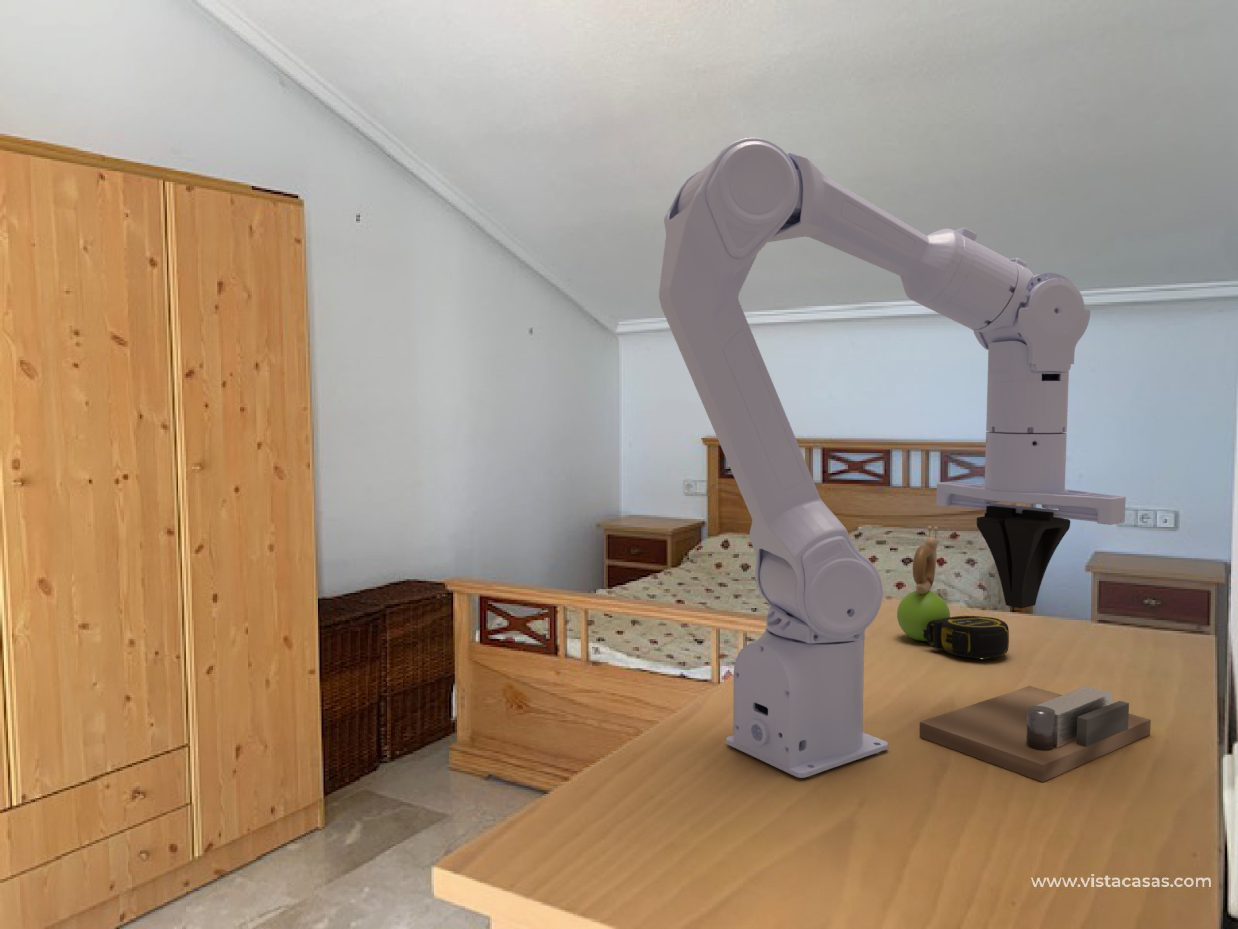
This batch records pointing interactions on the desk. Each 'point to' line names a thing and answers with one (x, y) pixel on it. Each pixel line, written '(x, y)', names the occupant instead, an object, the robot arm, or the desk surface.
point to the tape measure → (969, 636)
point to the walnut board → (1003, 729)
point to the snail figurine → (922, 593)
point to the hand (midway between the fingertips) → (1020, 605)
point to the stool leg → (1062, 717)
